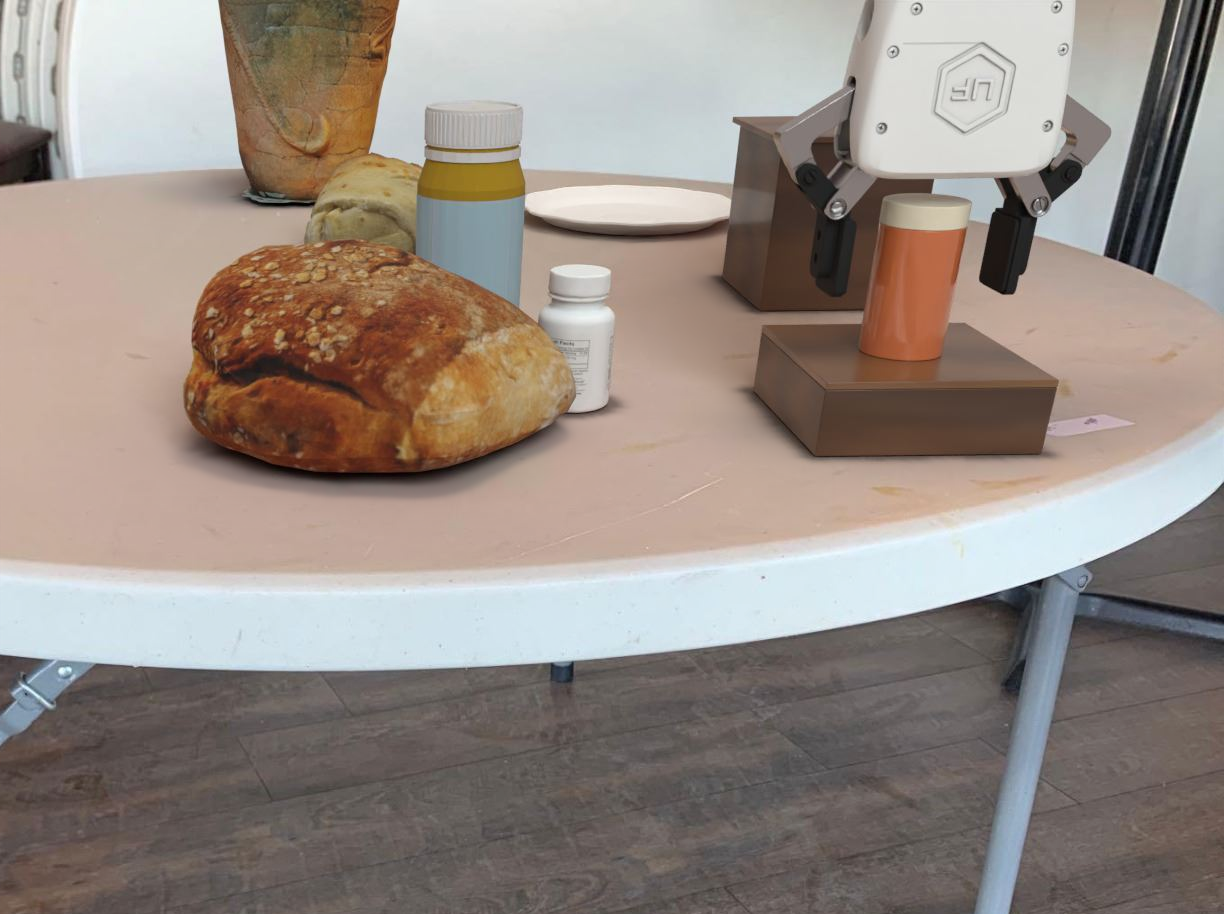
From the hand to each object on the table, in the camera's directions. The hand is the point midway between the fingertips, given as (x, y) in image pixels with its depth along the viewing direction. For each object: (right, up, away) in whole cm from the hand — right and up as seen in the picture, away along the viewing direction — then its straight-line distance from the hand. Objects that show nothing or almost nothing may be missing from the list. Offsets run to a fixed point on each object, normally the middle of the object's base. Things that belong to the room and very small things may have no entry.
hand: (912, 289), depth 76 cm
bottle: (-22, +2, +20) cm, 30 cm away
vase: (-33, +30, +73) cm, 85 cm away
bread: (-29, -8, +3) cm, 30 cm away
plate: (-3, +22, +58) cm, 63 cm away
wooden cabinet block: (+5, +8, +31) cm, 33 cm away
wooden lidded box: (0, -7, +3) cm, 7 cm away
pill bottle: (-17, -5, +7) cm, 19 cm away
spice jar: (0, -3, +2) cm, 3 cm away
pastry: (-28, +16, +46) cm, 56 cm away
